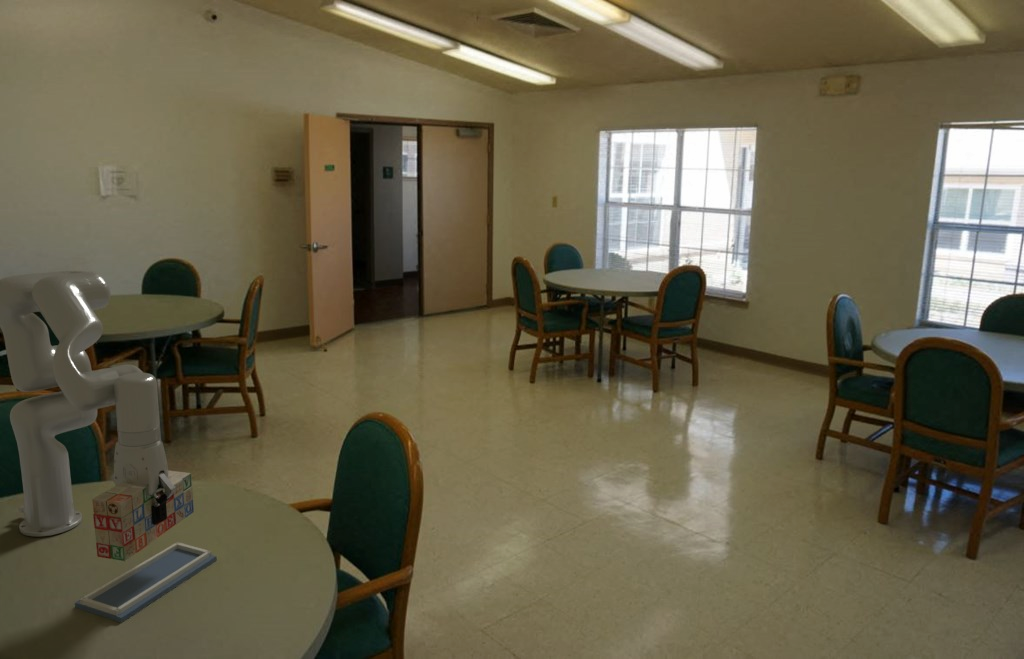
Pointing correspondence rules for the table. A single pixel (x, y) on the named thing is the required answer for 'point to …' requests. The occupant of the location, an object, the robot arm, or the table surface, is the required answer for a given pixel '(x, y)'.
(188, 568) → the shallow rectangular tray
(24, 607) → the table surface
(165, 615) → the table surface
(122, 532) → the stack of blocks
